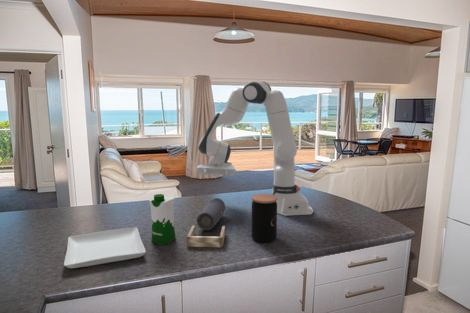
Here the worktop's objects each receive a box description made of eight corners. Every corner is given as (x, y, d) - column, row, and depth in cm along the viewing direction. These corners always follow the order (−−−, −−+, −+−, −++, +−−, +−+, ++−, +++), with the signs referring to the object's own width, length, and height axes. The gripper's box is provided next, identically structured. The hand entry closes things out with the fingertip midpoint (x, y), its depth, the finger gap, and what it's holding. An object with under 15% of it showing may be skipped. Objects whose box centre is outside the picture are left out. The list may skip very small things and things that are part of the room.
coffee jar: (275, 244, 132) (276, 201, 129) (249, 242, 134) (249, 200, 131) (277, 234, 142) (278, 194, 140) (253, 232, 145) (253, 193, 142)
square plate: (64, 275, 109) (63, 265, 108) (69, 244, 134) (68, 235, 133) (146, 260, 120) (146, 250, 119) (137, 233, 144) (136, 225, 144)
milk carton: (148, 242, 134) (146, 195, 131) (162, 234, 142) (160, 190, 139) (165, 246, 131) (164, 198, 127) (178, 238, 139) (177, 192, 136)
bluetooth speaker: (216, 233, 143) (215, 212, 142) (195, 232, 145) (195, 210, 144) (226, 216, 166) (226, 197, 164) (208, 215, 167) (208, 196, 166)
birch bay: (225, 234, 142) (225, 226, 142) (222, 247, 130) (222, 237, 129) (192, 234, 143) (192, 225, 142) (186, 246, 130) (186, 237, 130)
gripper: (197, 160, 178) (195, 166, 164) (234, 162, 179) (235, 168, 166) (196, 172, 179) (194, 178, 166) (233, 174, 180) (234, 180, 167)
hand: (215, 173), depth 166 cm, fingers open, 8 cm apart
